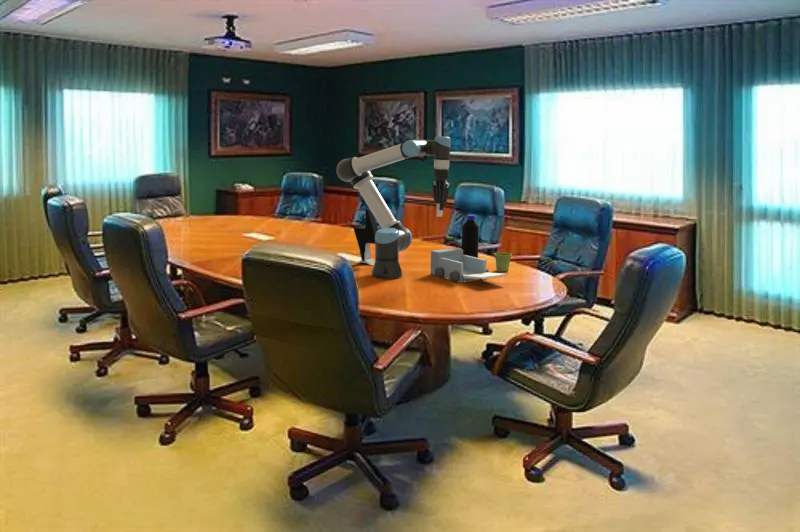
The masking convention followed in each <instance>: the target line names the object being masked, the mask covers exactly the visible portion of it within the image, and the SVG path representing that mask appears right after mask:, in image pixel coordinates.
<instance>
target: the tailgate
mask: <svg viewBox="0 0 800 532" xmlns="http://www.w3.org/2000/svg"><path fill="white" fill-rule="evenodd" d="M507 275H508V274H507V273H500V272H499V273H498V272H489V273H488V272H485V273H478V274H471V275H463V276H462V278H471V279H482V280H488V279H494V278H502V277H507Z"/></svg>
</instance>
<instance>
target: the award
mask: <svg viewBox="0 0 800 532" xmlns="http://www.w3.org/2000/svg"><path fill="white" fill-rule="evenodd" d="M364 214H365V219H364V223H365V224H364V226H356V227H355V226H354V227H353V232H354V235H355V239H356V242H357V245H358V247H359V248H358V249H359V252H358V253H359V255H360V259H361V260H360V261H358V262H357V264H358V265H359V264H361V263H365V264H366V265H369V266H371V265H373V266H374V263H375V260H373V259H372V257H371V256H372V253H371V249H370V246H371V245H370V244H372V245H373V244H374V245H375V234H376V231H378V230H379V228H378V225H377V224H378V223H377V220H376V218H375V217H374V215H373V213H372V212H371V210H370V208H366V209H365V213H364Z"/></svg>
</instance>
